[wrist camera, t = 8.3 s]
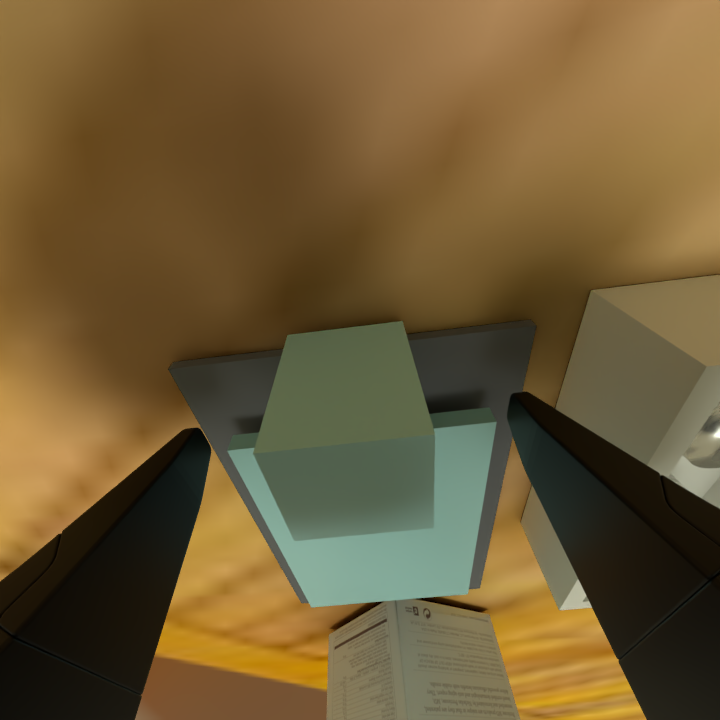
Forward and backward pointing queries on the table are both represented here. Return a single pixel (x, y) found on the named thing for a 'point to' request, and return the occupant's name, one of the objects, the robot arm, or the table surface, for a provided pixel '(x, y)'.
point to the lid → (366, 471)
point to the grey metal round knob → (706, 443)
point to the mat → (439, 385)
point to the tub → (638, 394)
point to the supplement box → (418, 666)
